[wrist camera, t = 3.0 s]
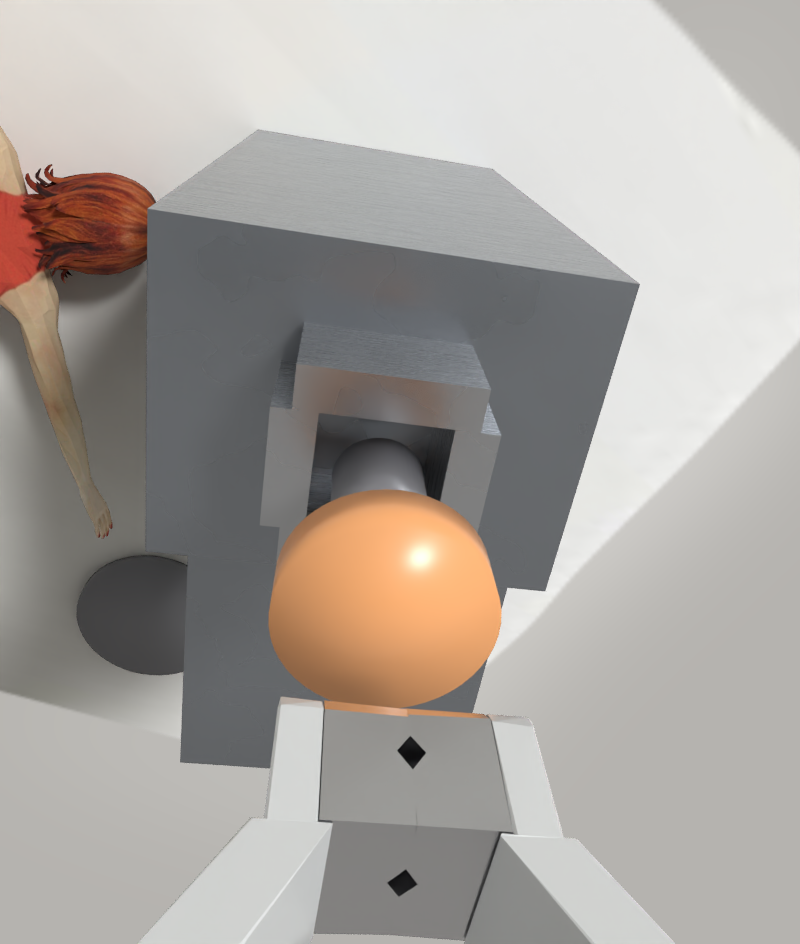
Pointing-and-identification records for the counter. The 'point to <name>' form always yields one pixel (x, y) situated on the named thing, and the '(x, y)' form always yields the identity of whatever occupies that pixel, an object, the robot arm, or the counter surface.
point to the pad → (137, 614)
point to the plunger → (383, 587)
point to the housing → (355, 383)
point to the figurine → (75, 248)
